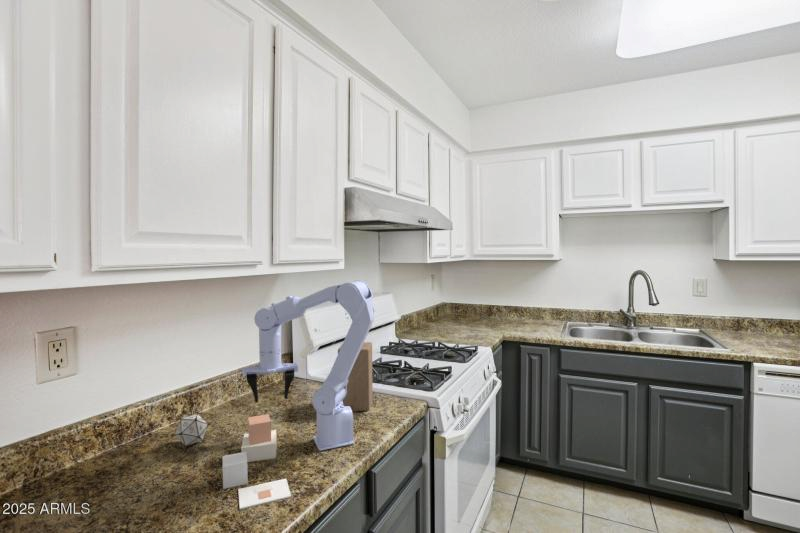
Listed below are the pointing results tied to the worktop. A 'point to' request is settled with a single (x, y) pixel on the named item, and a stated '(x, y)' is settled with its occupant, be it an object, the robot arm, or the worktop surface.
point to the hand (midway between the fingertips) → (271, 399)
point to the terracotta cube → (259, 429)
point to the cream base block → (259, 448)
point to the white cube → (235, 470)
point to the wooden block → (360, 381)
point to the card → (263, 493)
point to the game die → (191, 429)
